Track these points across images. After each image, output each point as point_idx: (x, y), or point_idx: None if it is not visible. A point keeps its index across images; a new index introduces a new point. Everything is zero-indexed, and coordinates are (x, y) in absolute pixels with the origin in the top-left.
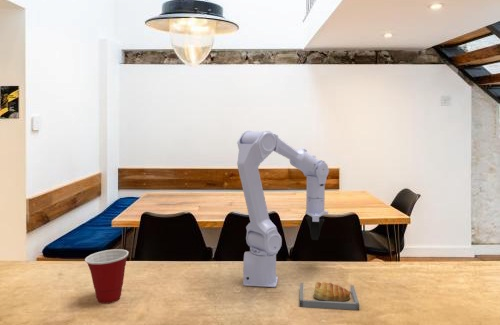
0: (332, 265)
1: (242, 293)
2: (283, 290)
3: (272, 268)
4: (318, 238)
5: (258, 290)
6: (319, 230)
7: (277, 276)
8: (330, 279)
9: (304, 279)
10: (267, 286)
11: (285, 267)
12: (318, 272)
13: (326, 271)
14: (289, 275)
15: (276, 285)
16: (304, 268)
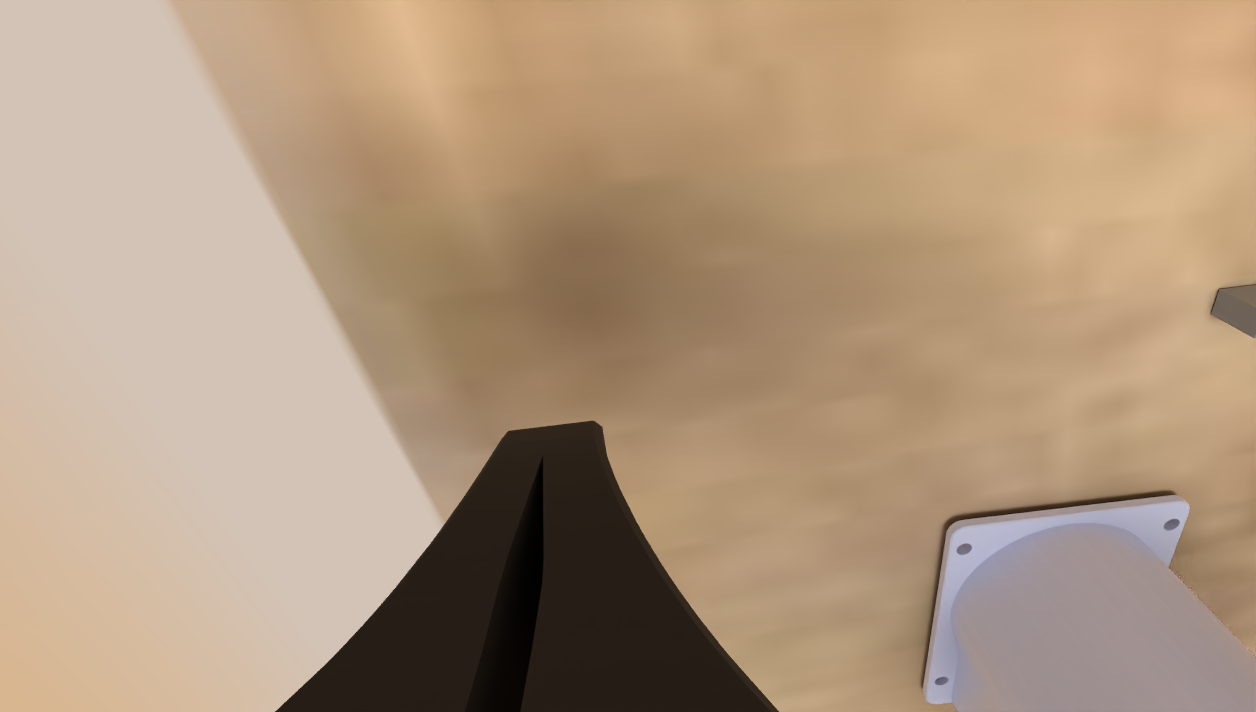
0: (371, 21)
1: (1248, 642)
2: (1243, 431)
3: (1239, 643)
4: (597, 434)
5: (1210, 578)
6: (668, 575)
7: (960, 532)
8: (966, 14)
9: (970, 308)
10: (1168, 548)
11: (633, 514)
12: (721, 189)
13: (662, 91)
14: (861, 448)
15: (1153, 498)
16: (615, 352)
